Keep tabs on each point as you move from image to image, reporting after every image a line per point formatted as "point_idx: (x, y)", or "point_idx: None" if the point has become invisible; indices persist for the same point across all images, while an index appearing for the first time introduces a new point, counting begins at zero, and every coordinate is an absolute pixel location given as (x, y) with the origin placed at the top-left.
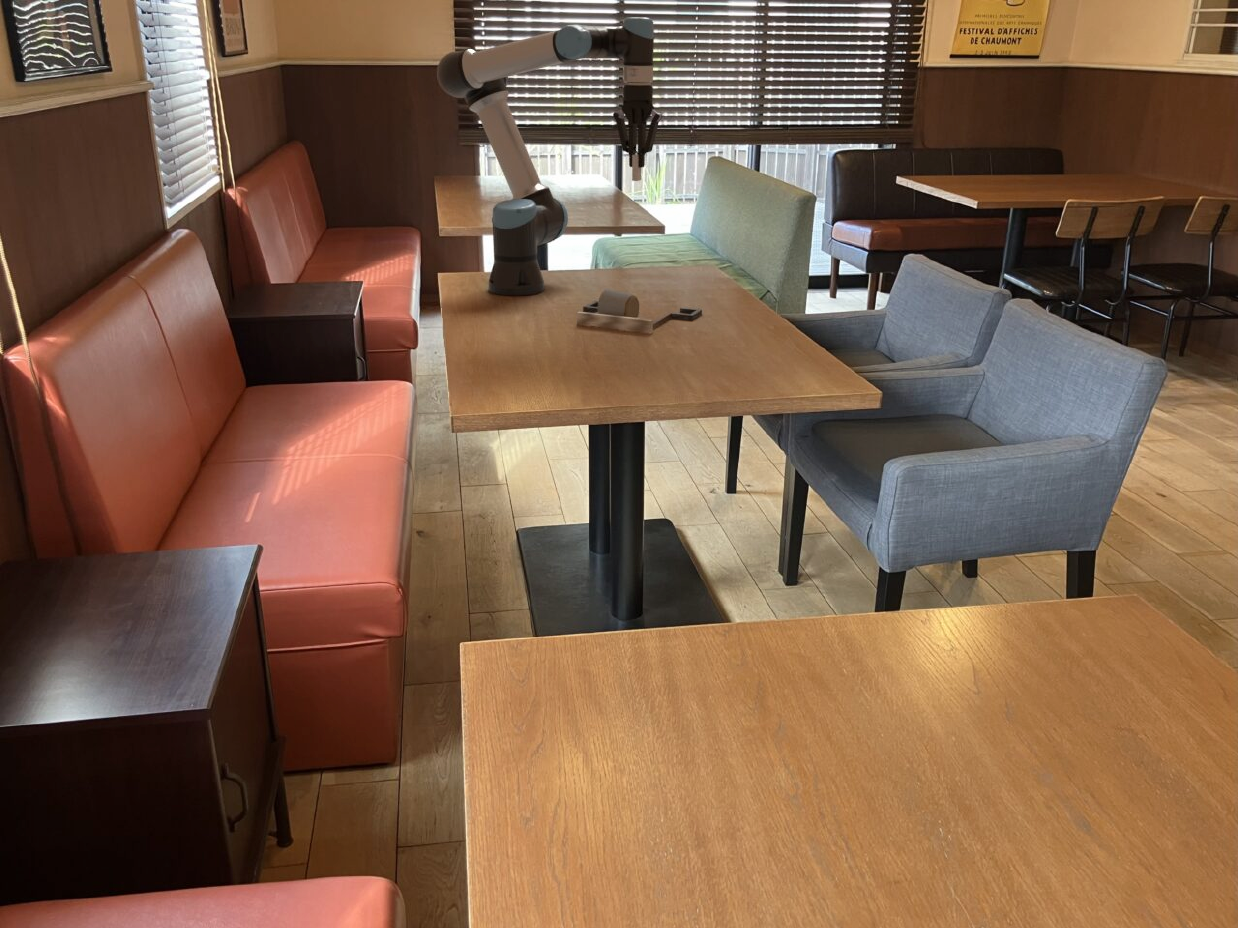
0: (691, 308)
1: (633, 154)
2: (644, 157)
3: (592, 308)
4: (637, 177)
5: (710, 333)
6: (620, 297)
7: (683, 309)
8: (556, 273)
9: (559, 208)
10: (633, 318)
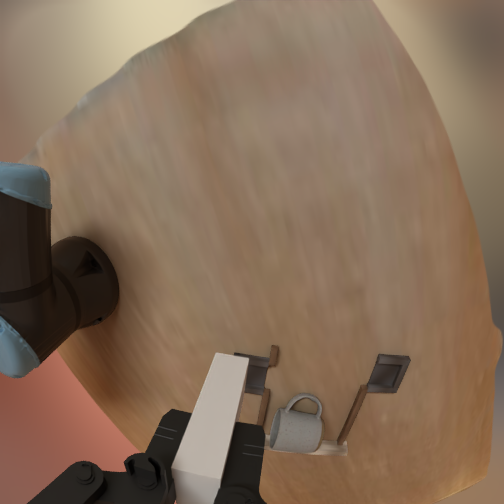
0: (395, 359)
1: (176, 498)
2: (258, 480)
3: (245, 391)
4: (240, 412)
5: (412, 424)
6: (301, 452)
7: (383, 362)
8: (80, 126)
9: (5, 207)
10: (323, 453)
